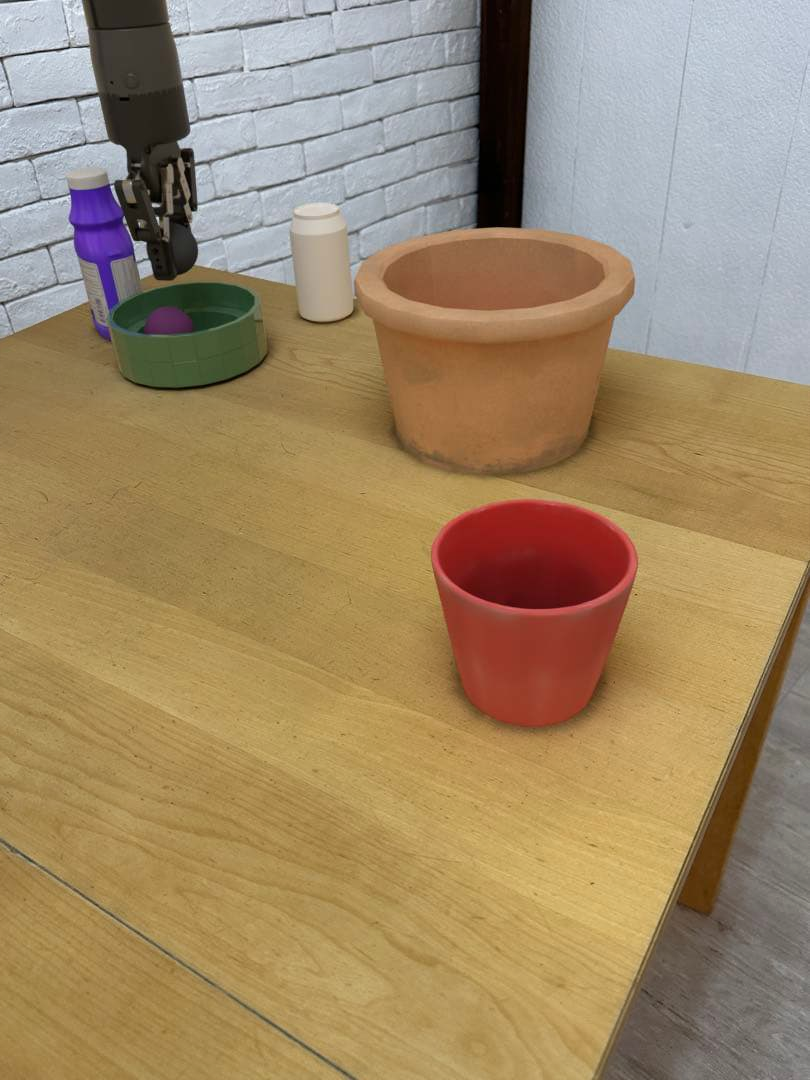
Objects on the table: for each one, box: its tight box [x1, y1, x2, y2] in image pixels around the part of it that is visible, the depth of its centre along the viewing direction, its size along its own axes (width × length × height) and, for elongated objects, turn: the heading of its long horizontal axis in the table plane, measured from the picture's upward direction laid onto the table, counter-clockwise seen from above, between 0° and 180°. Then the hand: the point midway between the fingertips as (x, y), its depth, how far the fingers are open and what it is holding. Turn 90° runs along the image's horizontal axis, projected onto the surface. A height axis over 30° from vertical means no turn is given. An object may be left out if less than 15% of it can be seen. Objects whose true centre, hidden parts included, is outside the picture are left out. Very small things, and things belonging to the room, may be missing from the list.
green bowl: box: [106, 280, 268, 389], centre depth 93 cm, size 15×15×6 cm
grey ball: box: [145, 223, 199, 276], centre depth 90 cm, size 5×5×5 cm
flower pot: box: [430, 498, 639, 728], centre depth 51 cm, size 11×11×10 cm
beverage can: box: [288, 202, 354, 323], centre depth 99 cm, size 6×6×12 cm
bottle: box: [65, 166, 144, 342], centre depth 97 cm, size 7×6×17 cm
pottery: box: [353, 226, 636, 477], centre depth 75 cm, size 22×22×14 cm
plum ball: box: [144, 306, 195, 335], centre depth 93 cm, size 5×5×5 cm
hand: (175, 269), depth 91 cm, fingers closed on grey ball, 4 cm apart
